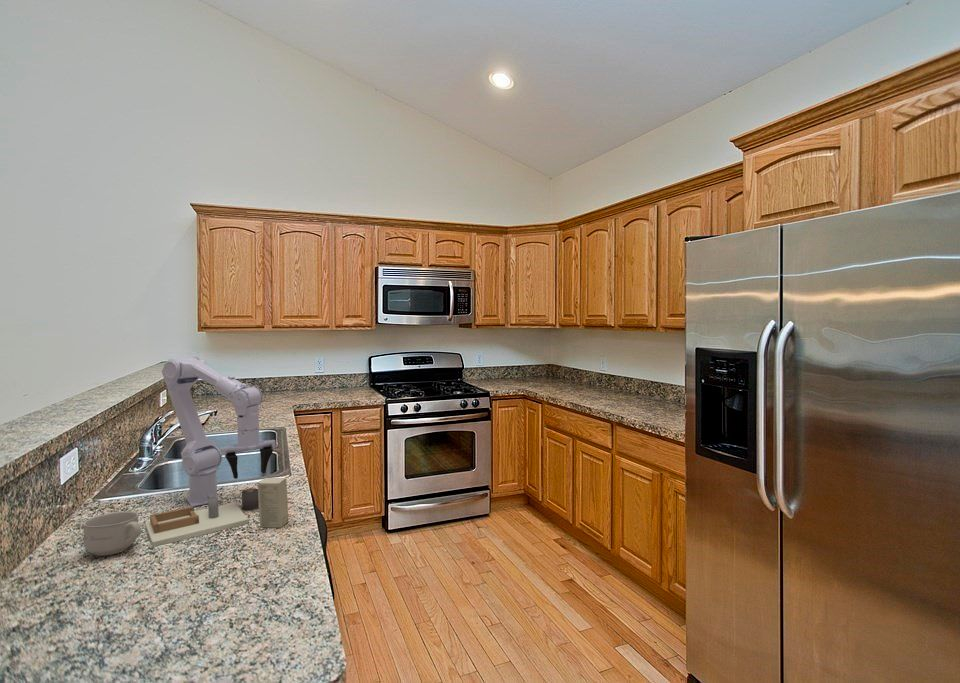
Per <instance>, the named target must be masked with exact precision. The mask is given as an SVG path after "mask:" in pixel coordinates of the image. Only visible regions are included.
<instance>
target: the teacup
mask: <svg viewBox="0 0 960 683" xmlns="http://www.w3.org/2000/svg"><path fill="white" fill-rule="evenodd" d="M139 516H140V514H139V513H138V512H136V511H130V510H129V511H127V510H126V511H117V512H116V511H114V512H108V513H103V514H101V515H100V514H99V515H96V516H93V517H89V518H88V519H87V520H85V521H83V523H82V526H83V545H84V548H85V549H86V550H87V552H88V553H92V554H93V555H95V556H97V557H98V556H99V557H100V556H101V557H104V556H111V555H114V554H119V553H121V552H124V551H125V550H127V549H128V548H130V547H131V545H133V543H135V541H136V540H137V539H138V538H139V537H140V536H141V533H142V527H141V525H140V523H139Z"/></svg>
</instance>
